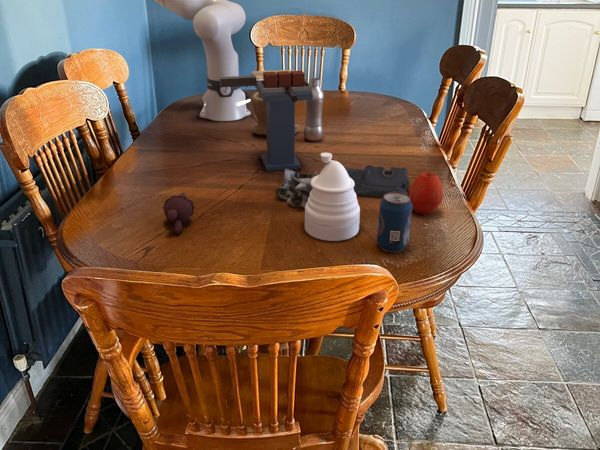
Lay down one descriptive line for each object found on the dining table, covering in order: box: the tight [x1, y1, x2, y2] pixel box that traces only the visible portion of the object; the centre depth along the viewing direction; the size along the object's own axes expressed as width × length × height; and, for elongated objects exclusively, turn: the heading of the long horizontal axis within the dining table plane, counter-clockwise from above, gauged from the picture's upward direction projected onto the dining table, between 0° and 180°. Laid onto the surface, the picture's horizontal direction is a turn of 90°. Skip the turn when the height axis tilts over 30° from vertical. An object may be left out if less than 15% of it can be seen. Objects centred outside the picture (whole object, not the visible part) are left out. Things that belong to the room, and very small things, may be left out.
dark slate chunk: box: [345, 164, 410, 198], centre depth 156 cm, size 15×22×5 cm
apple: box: [408, 171, 444, 216], centre depth 140 cm, size 8×8×11 cm
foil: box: [275, 169, 319, 208], centre depth 147 cm, size 12×11×15 cm
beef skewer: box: [220, 70, 307, 88], centre depth 152 cm, size 4×23×4 cm, turn 102°
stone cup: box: [251, 91, 301, 136], centre depth 189 cm, size 15×12×15 cm
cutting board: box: [251, 69, 297, 79], centre depth 164 cm, size 10×13×1 cm
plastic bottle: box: [303, 77, 325, 141], centre depth 184 cm, size 6×7×20 cm
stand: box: [250, 73, 313, 172], centre depth 164 cm, size 24×13×24 cm, turn 12°
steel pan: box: [257, 78, 312, 103], centre depth 150 cm, size 20×13×2 cm, turn 12°
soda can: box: [376, 192, 413, 253], centre depth 124 cm, size 7×7×12 cm
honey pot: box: [304, 152, 361, 242], centre depth 130 cm, size 13×13×18 cm
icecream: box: [162, 192, 195, 235], centre depth 135 cm, size 7×7×15 cm
